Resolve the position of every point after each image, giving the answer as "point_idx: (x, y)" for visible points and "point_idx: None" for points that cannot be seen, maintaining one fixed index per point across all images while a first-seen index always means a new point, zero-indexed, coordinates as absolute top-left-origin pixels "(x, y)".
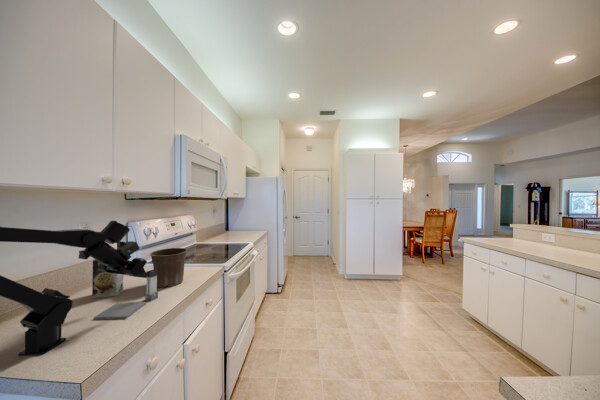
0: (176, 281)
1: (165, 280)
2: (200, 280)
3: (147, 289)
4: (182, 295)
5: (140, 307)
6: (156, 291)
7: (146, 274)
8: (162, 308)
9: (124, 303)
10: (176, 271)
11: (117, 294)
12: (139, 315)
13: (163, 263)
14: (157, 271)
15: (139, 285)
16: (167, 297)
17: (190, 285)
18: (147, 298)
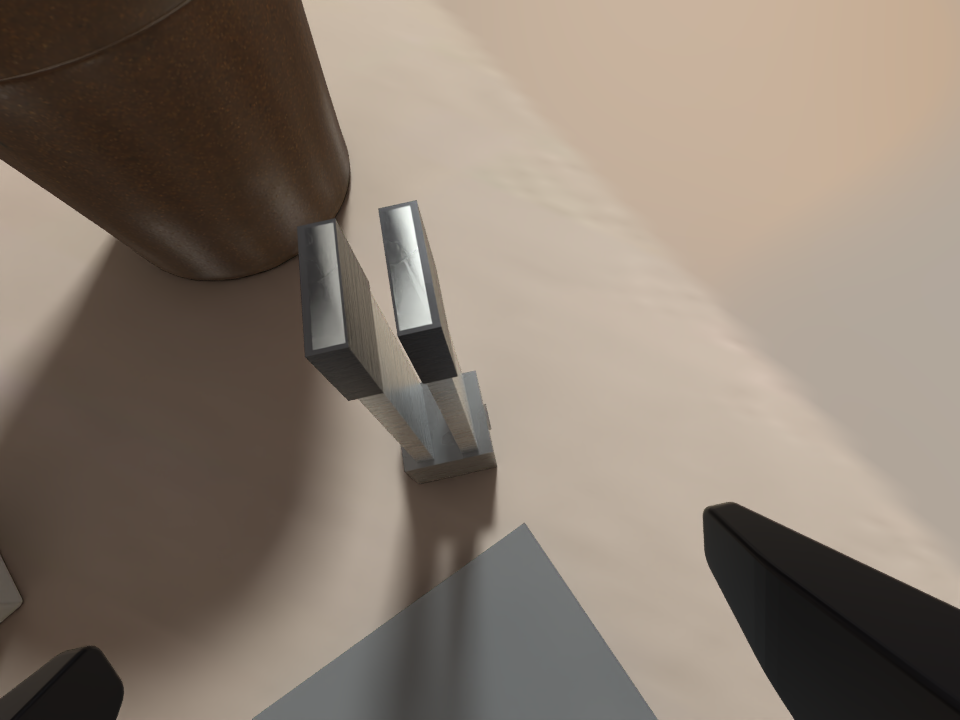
0: (340, 155)
1: (281, 204)
2: (437, 50)
3: (421, 446)
4: (620, 253)
5: (584, 611)
6: (464, 377)
7: (790, 543)
8: (774, 486)
9: (350, 682)
10: (308, 61)
11: (11, 587)
12: (768, 710)
13: (146, 22)
14: (130, 170)
15: (19, 349)
16: (547, 340)
17: (464, 129)
18: (448, 473)
